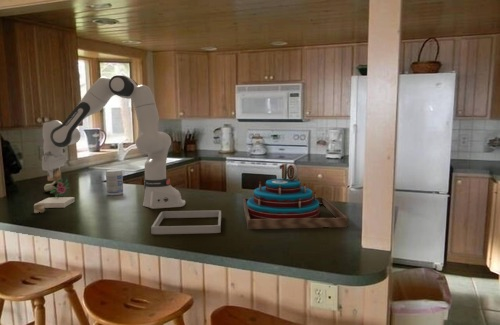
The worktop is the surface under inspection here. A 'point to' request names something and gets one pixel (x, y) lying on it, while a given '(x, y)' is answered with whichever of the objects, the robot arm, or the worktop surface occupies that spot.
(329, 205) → the walnut cake board rim
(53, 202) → the plate
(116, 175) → the supplement tub
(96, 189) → the worktop surface
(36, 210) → the maple block
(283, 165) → the birthday cake
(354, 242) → the worktop surface
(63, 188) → the flower vase
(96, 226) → the worktop surface
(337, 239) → the worktop surface
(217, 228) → the grey tray rim
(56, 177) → the oak block
